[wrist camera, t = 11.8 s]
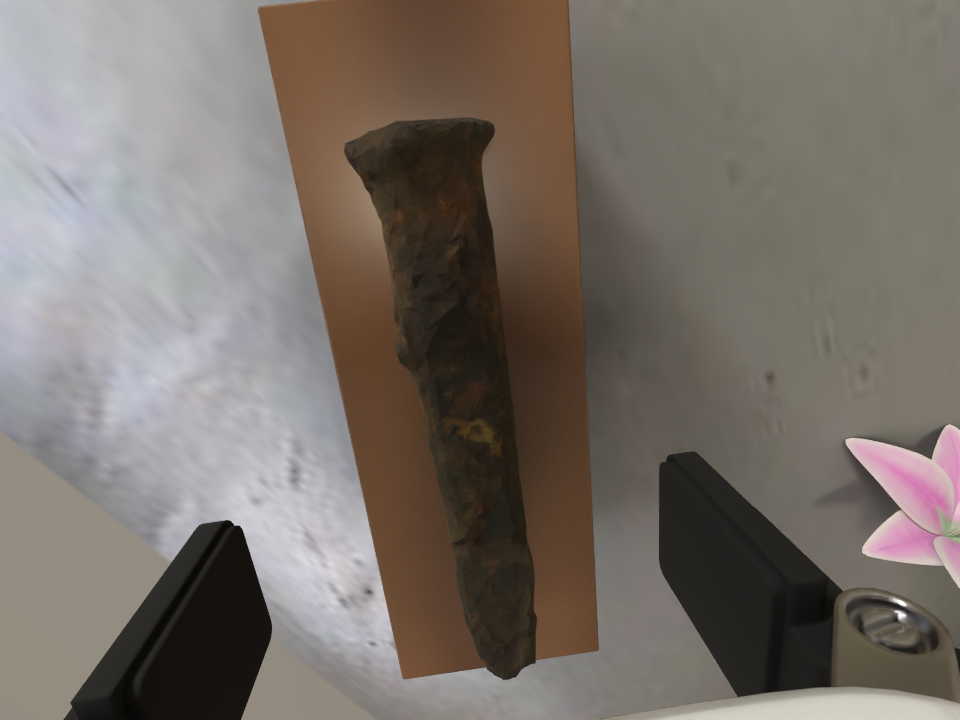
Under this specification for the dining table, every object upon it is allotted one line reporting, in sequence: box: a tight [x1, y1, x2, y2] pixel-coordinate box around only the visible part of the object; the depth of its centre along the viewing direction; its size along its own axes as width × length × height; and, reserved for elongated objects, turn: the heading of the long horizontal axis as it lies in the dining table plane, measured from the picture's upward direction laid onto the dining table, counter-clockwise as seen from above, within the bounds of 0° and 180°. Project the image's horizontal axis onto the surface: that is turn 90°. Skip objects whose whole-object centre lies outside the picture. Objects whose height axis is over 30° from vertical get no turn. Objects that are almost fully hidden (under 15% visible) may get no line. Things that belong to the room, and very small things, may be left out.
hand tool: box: [344, 117, 537, 680], centre depth 16 cm, size 19×4×5 cm, turn 6°
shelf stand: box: [258, 0, 599, 679], centre depth 23 cm, size 9×26×9 cm, turn 7°
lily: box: [845, 424, 960, 588], centre depth 29 cm, size 12×12×10 cm
